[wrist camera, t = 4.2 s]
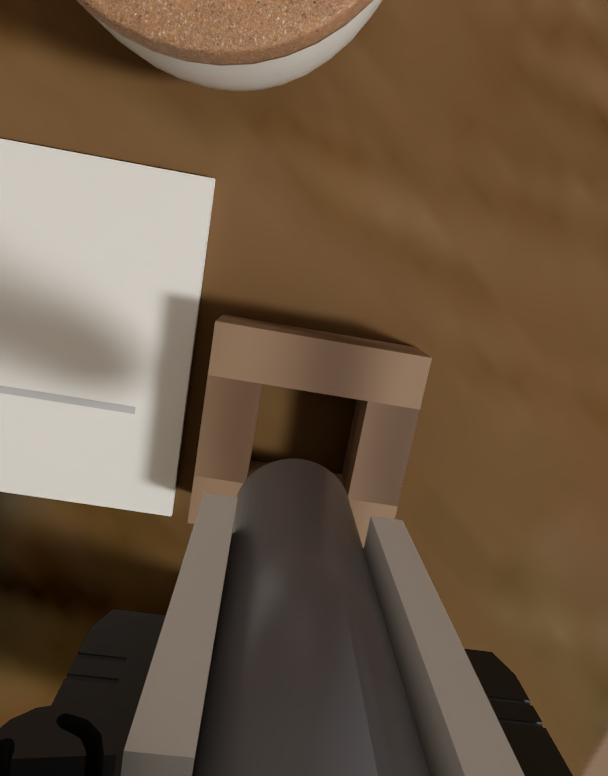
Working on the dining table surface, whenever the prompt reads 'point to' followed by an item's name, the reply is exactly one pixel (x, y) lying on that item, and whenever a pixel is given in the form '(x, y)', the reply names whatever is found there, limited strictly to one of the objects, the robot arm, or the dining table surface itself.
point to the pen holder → (320, 375)
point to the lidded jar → (234, 36)
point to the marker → (302, 643)
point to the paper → (96, 324)
